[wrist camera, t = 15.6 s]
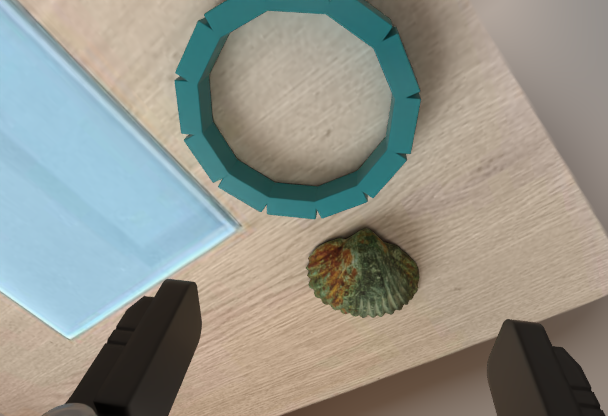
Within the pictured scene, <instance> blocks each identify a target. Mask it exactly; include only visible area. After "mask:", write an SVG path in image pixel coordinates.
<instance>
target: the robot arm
mask: <svg viewBox="0 0 608 416" xmlns="http://www.w3.org/2000/svg"><path fill="white" fill-rule="evenodd" d="M201 328H202V319H201V312H200V305H199V298H198V290H197V285H196V283H195V282H191V281H182V280H173V279H166V280H165V281H164V282H163V283H162V285H161V287H160V288H159V290H158V292H157V293H156V295H155V297H147V296H144V297H142V298H141V299H140V300H139V301H137V302H136V303H135V304H134V305H132V306H131V307H130V308H129V309H127V311H126V312H125V314H124V315H123V317H122V318H121V320H120V321H119V323H118V325H117V326H116V330H114V331H113V332H112V334H111V335H110V337H109V338H108V341H107V344H105V345H104V346H103V348H102V349H101V351H100V352H99V354H98V355H97V357H96V358H95V360H94V362H93V363H92V365H91V366H90V368H89V369H88V371H87V372H86V374H85V375H84V377H83V379H82V380H81V382H80V383H79V385H78V386H77V388H76V389H75V391H74V392H73V394H72V395H71V397H70V398H69V400H68V401H67V402H66V403H65V404H64V405H61V406H58V407H55V408H53V409H51V410H49V411H48V412H46V413H44V414H43V415H42V416H168V415H169V412H170V410H171V408H172V405H173V403H174V400H175V398H176V396H177V393H178V391H179V388H180V386H181V384H182V381H183V379H184V376H185V374H186V372H187V369H188V367H189V364H190V362H191V360H192V357H193V355H194V352H195V350H196V348H197V345H198V343H199V339H200V335H201ZM487 378H488V383H489V387H490V391H491V394H492V398H493V402H494V405H495V409H496V413H497V416H605V414H604V412H603V410H601V409H600V404H599V402H598V400H597V398H596V396H595V394H594V392H592V391H591V386H590V384H589V382H588V380H587V378H586V376H585V374H584V372H583V370H582V368H581V366H580V365H579V364H578V363H577V362H576V361H575V360H574V359H573V358H572V357H571V356H570V355H569V354H568V352H566V350H565V349H564V348H562V347H555V346H552V344H551V342H550V340H549V338H548V336H547V334H546V331H545V329H544V327H543V326H542V325H541V324H540V323H536V322H528V321H519V320H510V319H507V320H505V321H504V323H503V325H502V327H501V329H500V332H499V334H498V337H497V339H496V341H495V344H494V346H493V349H492V351H491V353H490V356H489V359H488V364H487Z"/></svg>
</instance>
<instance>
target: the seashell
mask: <svg viewBox="0 0 608 416" xmlns="http://www.w3.org/2000/svg"><path fill="white" fill-rule="evenodd" d="M308 259H309V265H308V266H307V267H306V269H307V270H309V273H308V275H307V276H308V277H309V278H311V280H310V282H309V287H310V288H312V289H314V290H315V291H314V294H315V296H316V297H317V298H320V299H321V300H322V302H323V303H324V304H326V305H328V304H329V305H331V307H332V308H333V309H334V310H341V312H342V313H343V314H347V313H350V314H351V315H352V316H358V315H360V316H361V317H362V318H365V317H366V316H367V315H369V316H371V317H373V318H374V317H375V316H377V315H378V316H380V317H382V316H383V315H384V314H385V313H388V314H393V313H394V311H395V310H401V309H402V307H403V305H404V304H406V305H407V304H408V302H409V300H411V299H412V298H413V296H414V294H415V293H416V292H417V289H418V281H419V272H418V267H417V265H416V263H415V262H414V261H413V260H412V259H411V258H410V257H409V256H408V255H407V254H406V253H405V252H403V251H402V250H401V249H400V248H399V247H398V246H396V245H394V244H389V243H385V242H383V241H382V240H381V239H380V238H379V237H378V236H376V235H375V234H374V233H373V232H372V231H371V230H369V229H362V230H360V231H359V232H357V233H356V234H354V235H352V236H351V237H349V238H347V239H342V238H337V239H335V240H332V241H329V242H326V243H324V244H322V245H321V246H319V247H317V248H316V249H315V250H314V251H313V253H312V254H311V255H310V256H309V258H308Z"/></svg>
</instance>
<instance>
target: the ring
mask: <svg viewBox="0 0 608 416" xmlns="http://www.w3.org/2000/svg"><path fill="white" fill-rule="evenodd" d="M266 11H282V12H298V13H315V14H326V15H328V16H329V17H330V18H332V19H333V20H334V21H336V22H337V23H339V24H340V25H341V26H343V27H344V28H346V29H347V30H348V31H350V32H351V33H353V34H354V35H355V36H357V37H358V38H359V39H361V40H362V41H364V42H365V43H366V44H368V45H369V46H371V47H372V48H373V49H374V51H375V53H376V56H377V58H378V61H379V63H380V65H381V68H382V70H383V73H384V75H385V77H386V80H387V82H388V84H389V87H390V89H391V92H392V99H391V106H390V112H389V119H388V125H387V132H386V137H385V138H384V139H383V140H382V142H381V143H380V144H379V145H378V146H377V148H376V149H375V150H374V151H373V153H372V154H371V155H370V156H369V157H368V159H367V160H366V161H365V162H364V164H363V165H362V166H361V167H360V168H359V170H358V171H356V172H353V173H351V174H348V175H346V176H343V177H340V178H338V179H335V180H333V181H330V182H328V183H325V184H323V185H320V186H318V187H317V186H307V185H296V184H286V183H276V182H273V181H272V180H270V179H268V178H267V177H265V176H264V175H262V174H260V173H259V172H257V171H255V170H254V169H252V168H250V167H249V166H247V165H245V164H244V163H242V162H241V161H239V160H237V158H236V157H235V155H234V154H233V152H232V150H231V149H230V147H229V146H228V144H227V143H226V141H225V140H224V138H223V136H222V135H221V133H220V132H219V130H218V129H217V127H216V125H215V124H214V122H213V119H212V107H211V95H210V83H209V74H210V72H211V70H212V68H213V66H214V64H215V62H216V60H217V58H218V56H219V54H220V52H221V50H222V48H223V46H224V44H225V42H226V39H227V37H228V35H229V33H230V32H232V31H234V30H235V29H237V28H239V27H240V26H242V25H244V24H246V23H247V22H249V21H251V20H252V19H254V18H256V17H258V16H259V15H261V14H263V13H264V12H266ZM204 16H205V18H203V19H201V20H199V21H198V22H197V24H196V27H195V29H194V31H193V34H192V36H191V38H190V40H189V43H188V45H187V47H186V49H185V52H184V54H183V56H182V58H181V61H180V63H179V65H178V67H177V70H176V72H175V73H176V74H178V75H179V76H180V77H178V78H177V79H176V80H175V88H176V96H177V104H178V112H179V120H180V127H181V133H182V134H189V135H188V136H187V137H186V138H185V139H184V141H185V143H186V144H187V146H188V147H189V149H190V150H191V152H192V153H193V154H194V156H195V157H196V159H197V160H198V162H199V163H200V165H201V166H202V168H203V169H204V170H205V172H206V173H207V175H208V176H209V178H210V179H211V181H212V182H213V183H214V182H216V181H218V180H220V179H222V181H221V182H220V184H219V186H218V187H219V188H220V189H222V190H224V191H225V192H227V193H229V194H230V195H232V196H234V197H236V198H237V199H239V200H241V201H242V202H244V203H246V204H247V205H249V206H251V207H253V208H254V209H256V210H258V211H259V212H262V210H263V209H264V208H265V206H266V205H267V214H269V215H278V216H288V217H298V218H307V219H316V215H317V211H318V213H319V215H320V216H321V218H325V217H328V216H330V215H333V214H336V213H339V212H341V211H344V210H347V209H350V208H352V207H355V206H358V205H361V204H363V203H366V202H368V195H369V196H370V197H372V198H374V197H375V196H376V195H377V194H378V192H379V191H380V190H381V189H382V188H383V187H384V186H385V185H386V183H387V182H388V181H389V180H390V179H391V178H392V177H393V176H394V174H395V173H396V172H397V171H398V170H399V169H400V168H401V167H402V165H403V164H404V163H405V162H406V161H407V157H406V154H411V149H412V144H413V139H414V134H415V128H416V123H417V118H418V113H419V107H420V102H421V98H420V95H419V92H420V88H419V86H418V83H417V80H416V77H415V75H414V72H413V69H412V67H411V64H410V62H409V59H408V56H407V54H406V51H405V49H404V46H403V43H402V41H401V38H400V36H399V33H398V30H397V28H396V26H395V27H393V26H392V22H391V19H389V18H388V17H387V16H385V15H384V14H383V13H381V12H380V11H379V10H377V9H376V8H374V7H373V6H372V5H370V4H369V3H368V2H366V1H365V0H226V1H224V2H223V3H221V4H219V5H218V6H216V7H215V8H213V9H211V10H210V11H208V12H206V13H205V14H204ZM392 27H393V28H392Z"/></svg>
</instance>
